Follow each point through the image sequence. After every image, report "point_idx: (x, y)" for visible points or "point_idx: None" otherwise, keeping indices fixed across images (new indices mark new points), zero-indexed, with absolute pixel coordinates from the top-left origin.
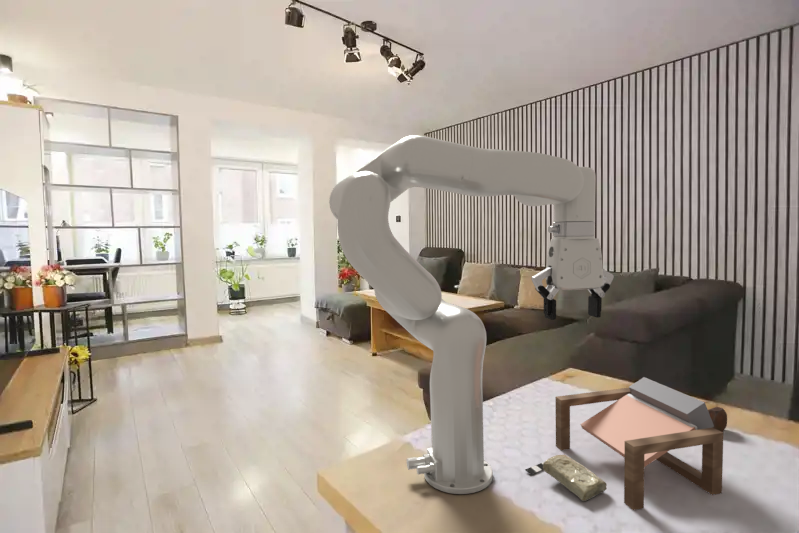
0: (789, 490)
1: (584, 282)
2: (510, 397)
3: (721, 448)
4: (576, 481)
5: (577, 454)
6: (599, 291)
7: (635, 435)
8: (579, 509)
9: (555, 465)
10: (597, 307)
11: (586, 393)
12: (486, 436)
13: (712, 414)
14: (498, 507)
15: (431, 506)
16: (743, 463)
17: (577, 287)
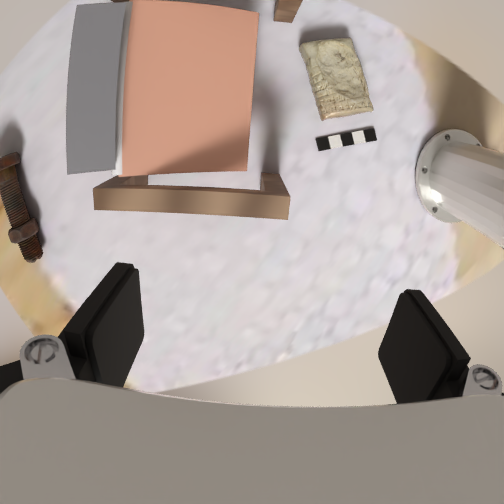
0: (64, 8)
1: (260, 473)
2: (237, 365)
3: None
4: (352, 55)
5: (261, 153)
6: (49, 375)
7: (208, 60)
8: (359, 38)
9: (364, 92)
10: (115, 296)
11: (205, 210)
12: (361, 259)
13: (2, 161)
14: (444, 92)
15: (496, 134)
16: (51, 69)
17: (363, 415)
